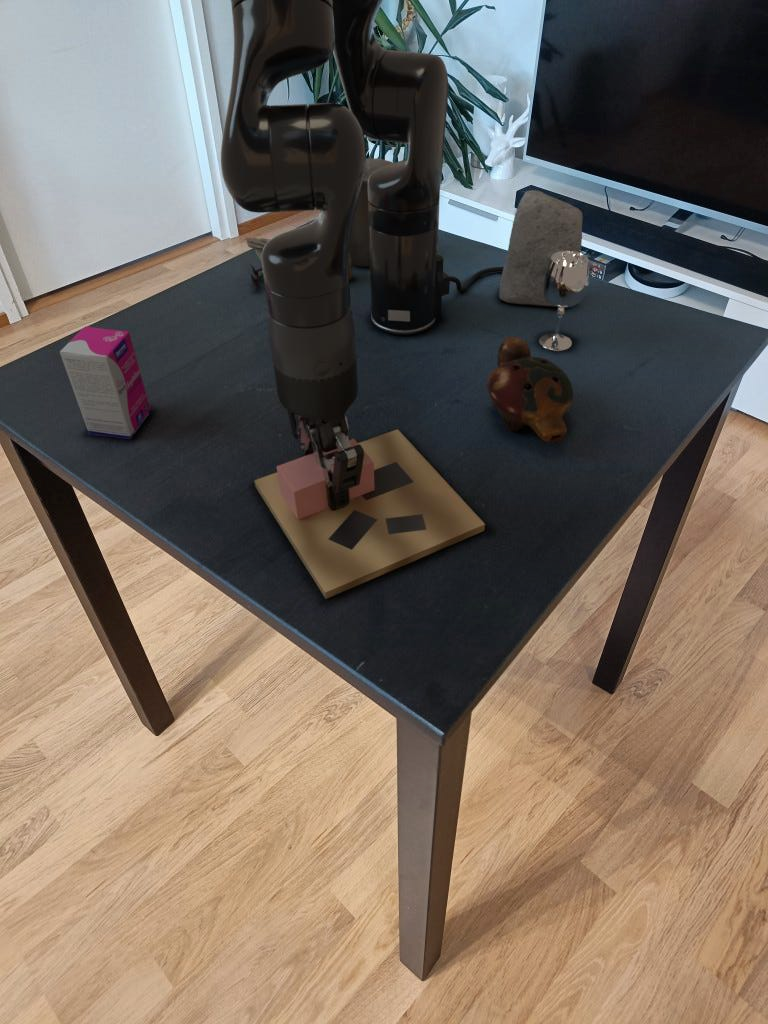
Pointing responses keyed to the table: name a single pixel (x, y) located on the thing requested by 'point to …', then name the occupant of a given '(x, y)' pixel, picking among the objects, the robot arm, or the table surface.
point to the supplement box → (106, 382)
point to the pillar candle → (363, 218)
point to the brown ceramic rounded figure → (530, 391)
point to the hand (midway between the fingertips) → (328, 491)
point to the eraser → (316, 483)
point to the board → (376, 519)
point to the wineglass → (564, 291)
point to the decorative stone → (537, 245)
